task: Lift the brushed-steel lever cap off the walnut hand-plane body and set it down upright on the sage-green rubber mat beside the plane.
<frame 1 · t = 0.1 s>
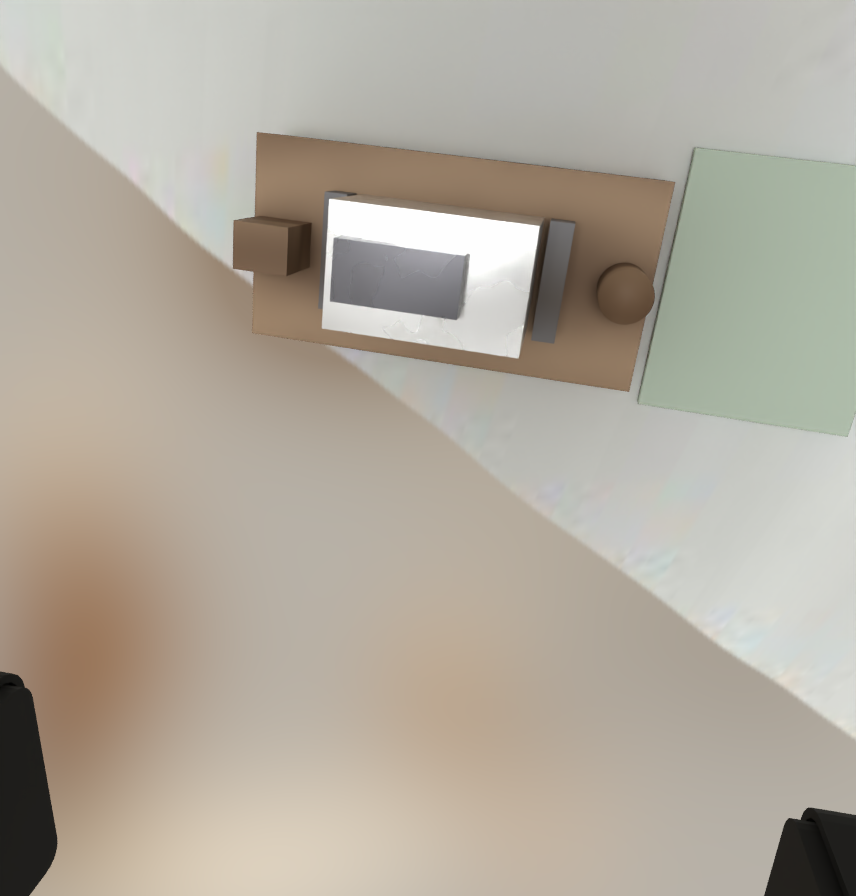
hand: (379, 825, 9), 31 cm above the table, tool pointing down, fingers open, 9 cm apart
plane body: (458, 254, 37), on the table
lever cap: (445, 264, 33), point 4 cm above the table, touching plane body
mat: (772, 297, 35), on the table
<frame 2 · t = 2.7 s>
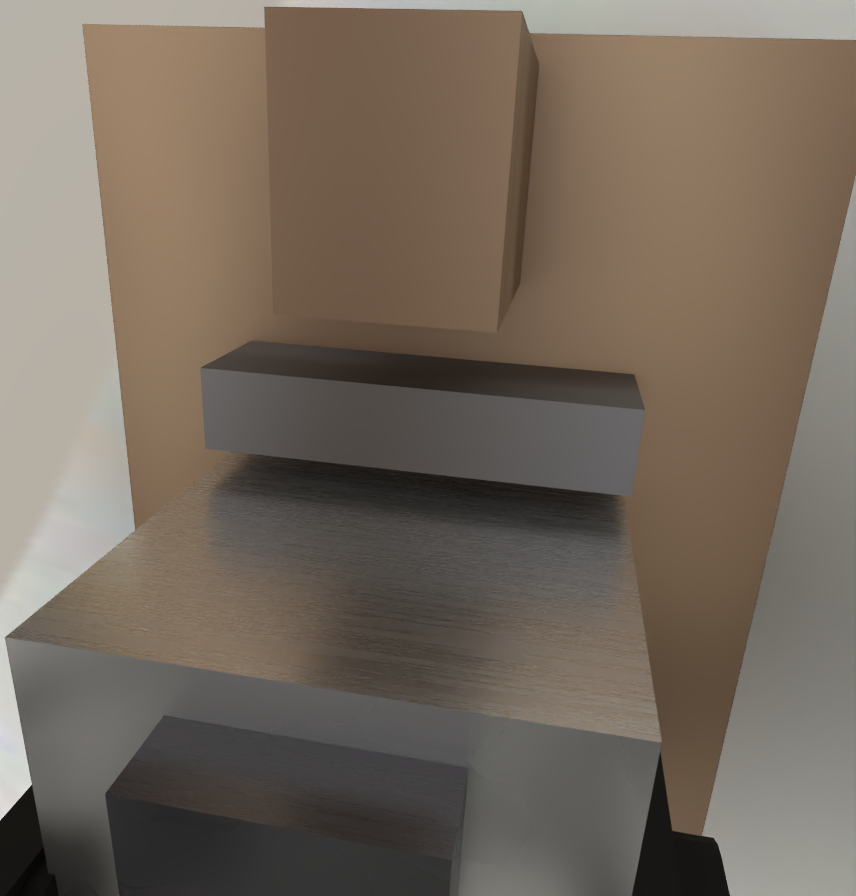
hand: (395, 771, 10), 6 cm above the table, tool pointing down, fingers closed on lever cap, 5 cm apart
plane body: (456, 566, 15), on the table
lever cap: (418, 693, 12), point 4 cm above the table, touching gripper, plane body
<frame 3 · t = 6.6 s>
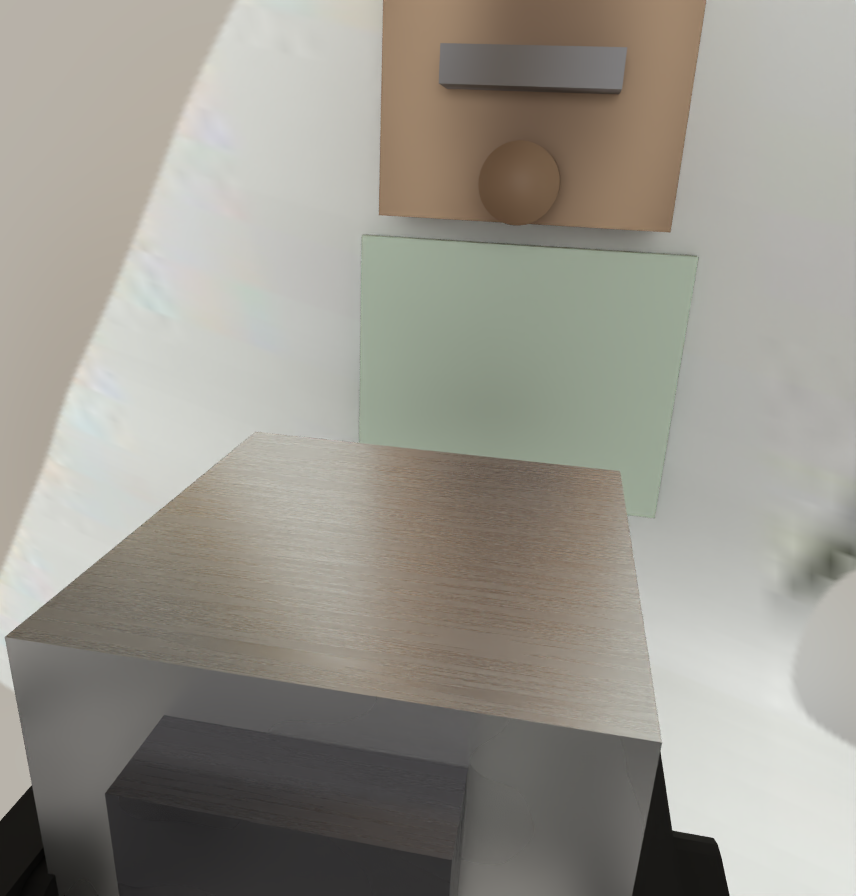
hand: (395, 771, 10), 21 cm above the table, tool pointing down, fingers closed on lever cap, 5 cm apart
lever cap: (418, 693, 12), point 19 cm above the table, touching gripper
mat: (513, 377, 29), on the table
when the fingers open (4 cm above the table, at t = 10.4 s): lever cap drops 1 cm, resting on mat.
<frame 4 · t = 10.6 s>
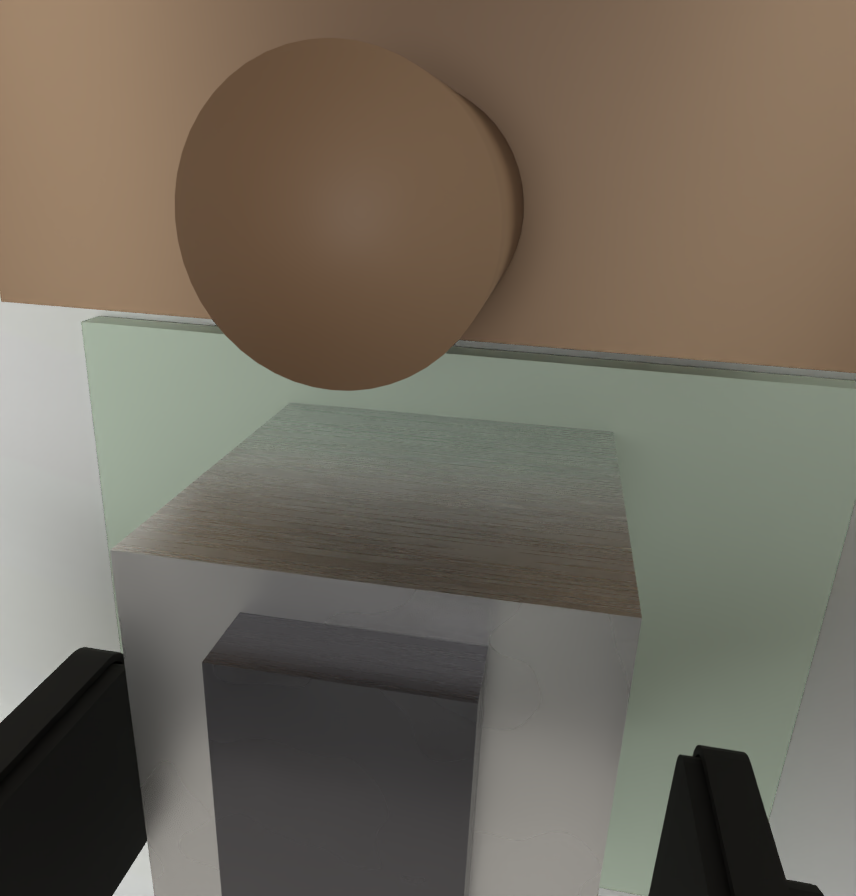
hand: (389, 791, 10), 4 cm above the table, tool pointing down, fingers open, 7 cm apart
lever cap: (436, 637, 13), resting on mat
mat: (438, 622, 13), on the table
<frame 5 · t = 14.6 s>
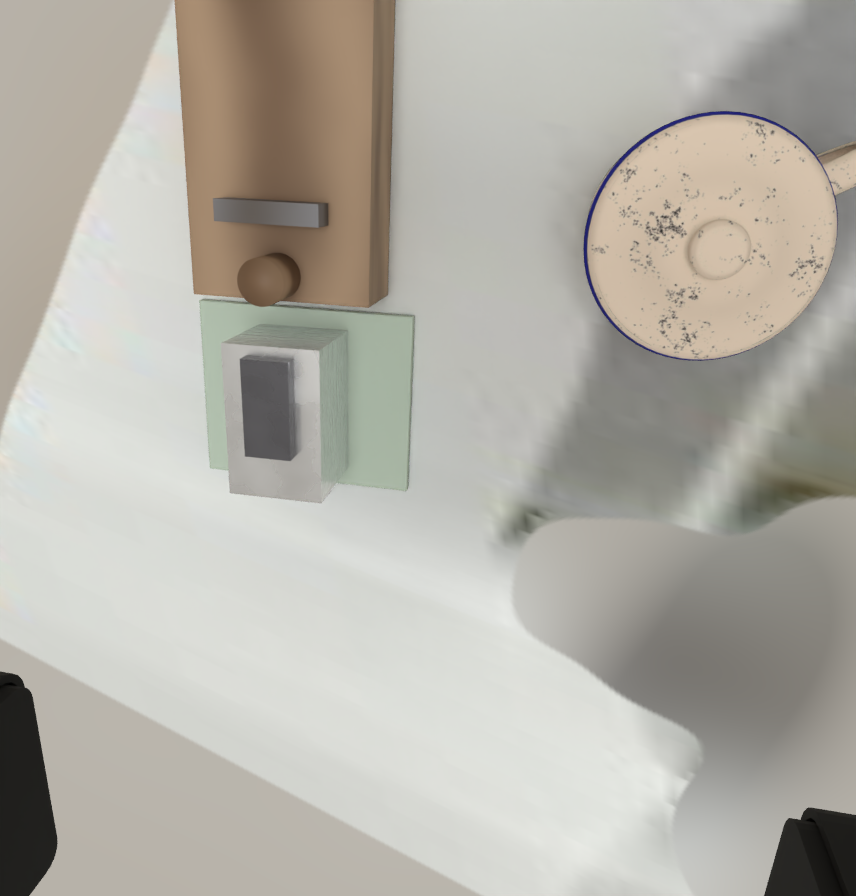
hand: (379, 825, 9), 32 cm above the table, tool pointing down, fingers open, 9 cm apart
plane body: (304, 106, 37), on the table
lever cap: (305, 397, 42), resting on mat
teacup with lid: (706, 213, 36), on the table
mat: (307, 395, 43), on the table
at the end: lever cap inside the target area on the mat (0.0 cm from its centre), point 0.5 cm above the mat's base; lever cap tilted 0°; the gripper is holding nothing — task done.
